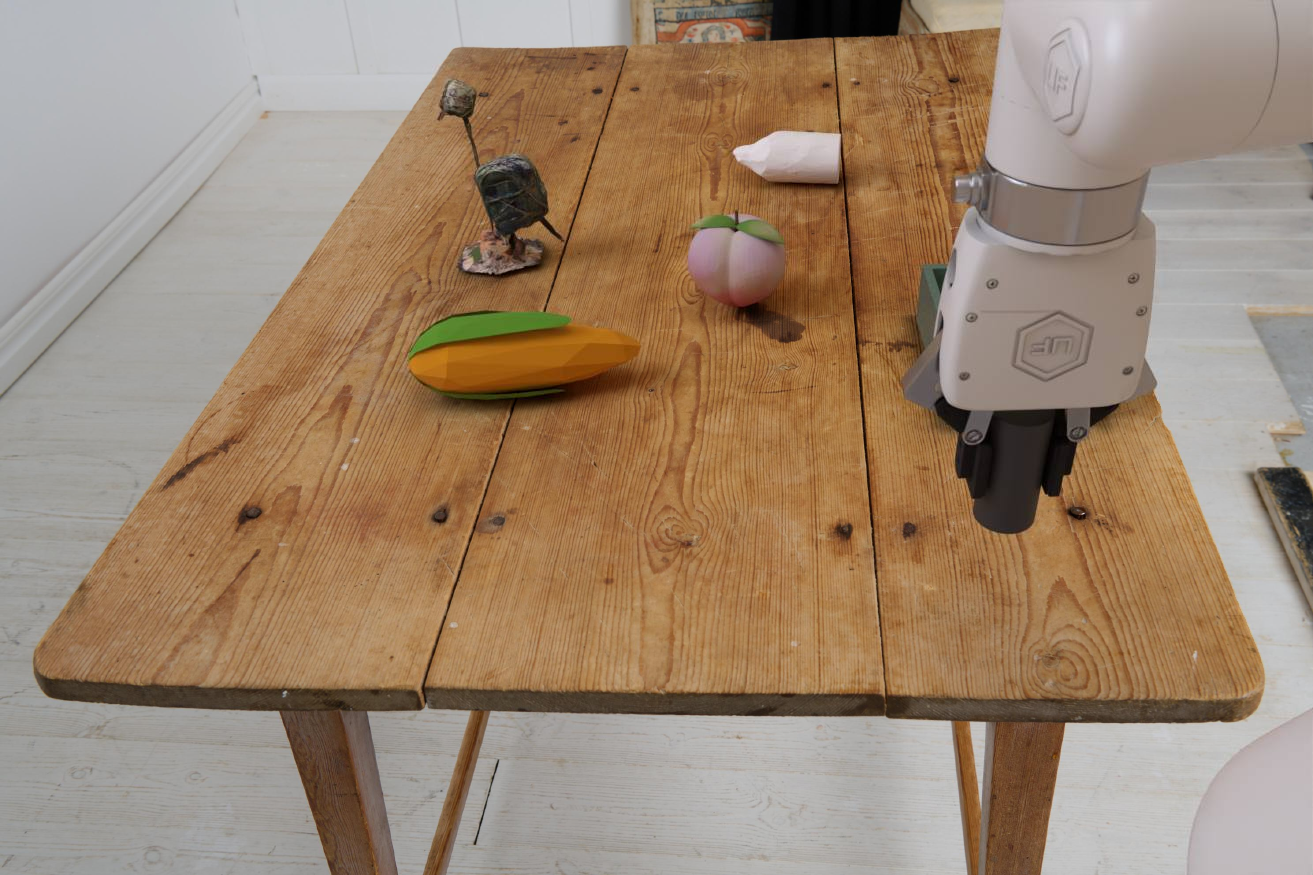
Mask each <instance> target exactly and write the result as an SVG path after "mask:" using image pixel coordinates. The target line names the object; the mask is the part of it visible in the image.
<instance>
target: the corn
mask: <svg viewBox="0 0 1313 875" xmlns="http://www.w3.org/2000/svg"><path fill="white" fill-rule="evenodd" d="M641 348H642V345H641V344H640V342H639V340H638V339H636V338H635V337H632V336H630V335H628V334H627V333H625V332H622V331H618V330H615V329H614V330H613V329H608V328H602V327H596V326H590V325H583V324H577V323H572V317H570V316H567V315H563V314H558V313H552V312H545V311H534V310H533V311H506V310H505V311H503V310H488V309H484V310H478V311H469V312H461V313H454V314H451V315H449V316H446V317H444V318H442V319H439V320H437V321H435V322H434V323H432V324H431V325H430V326H429V327H427V328H426V329H425V330H423V331H422V332H420V333H419V335H418V337H417V339H416V340H415V342H414V343H413V345H412V346H411V348H410V350H409V351H408V355H407V362H408V363H407V365H408V369H409V373H410V374H411V376H412V377H413V378H414V379H415V380H416V381H417V382H418V383H419V384H420V385H422V386H423V387H424V388H427V389H428V390H431V391H432V392H434V393H436V394H440V395H443V396H447V397H451V398H455V399H468V400H469V399H470V400H486V401H487V400H499V399H500V400H501V399H515V398H528V397H534V396H540V395H547V394H555V393H561V392H562V393H563V392H566V391H567V390H565V389H547V390H538V389H546V388H551V387H555V386H559V385H564V384H569V383H574V382H579V381H583V380H587V379H591V378H592V377H595V376H597V375H599V374H602V373H604V372H606V371H609V370H611V369H613V368H616V367H618V366H621V365H622V364H625V363H628V362H629V361H632V359H634V358H636V357H637V356H638V355H639V353H640V352H641V351H640V350H641ZM528 390H537V391H528ZM518 391H519V392H518ZM520 391H526V392H520ZM527 391H528V392H527ZM509 392H516V393H509ZM499 393H500V394H499Z"/></svg>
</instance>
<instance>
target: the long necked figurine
mask: <svg viewBox="0 0 1313 875" xmlns="http://www.w3.org/2000/svg"><path fill="white" fill-rule="evenodd" d="M477 94H478V92H477V89H476V88H475V87H473V86H471V85H469V84H467V83H466V82H464V81H462V80H459V79H457V78H454V77H451V78H447V79H446V81H445V83H444V86H443V88H442V91H441V94H440V96H439V101H438V108H440V111H439V115H438V116H437V118H436V120H437V121H439V122H440V121H442V120H443V119H444V118H445V116H452V117H453V116H456V117H457V118H461V119H462V121H463V124H464V128H465V131H466V133H467V137H468V139H469V140H470V144H471V150H472V153H473V157H474V162H475V165H476V169H475V170H474V176H473V180H474V182H475V185H476V187H477V190H478V192H479V195H480V197H481V201H482V203H483V207H484V209H485V212H486V215H487V216H488V219H489V221H490V222H489V223H490V227H491V228H488V229H487V228H486V229H482V230H481V234H480V237H481V240H478V241H475V242H473V243H471V244H465V245H464V246H465V248H463V249H462V251H463V252H462V253H461V254H462V255H460V256H459V257H460V258H459V260H458V262H457V263H456V264H457V265H455V268H456V269H458V270H460V271H464V272H471V273H481V274H483V273H485V274H487V273H488V274H489V275H492V273H494V275H495V276H499V275H501V274H503V273H507V272H510V271H515V270H519V269H523V268H525V267H526V266H527V267H530V266H536V265H539V264H540V261H541V260H542V259H543V258H542V257H541V256H543V249H545V247H544V245H543V243H542V241H541V240H540V239H539V238H536V239H534V238H533V239H532V238H523V237H520V236H517V235H516V233H517V232H518V231H519V230H521V229H528V228H530V227H531V226H533V225H534V224H535V223H538V222H540V223H541V224H542V226H543V227H544V228H545V229H546V230H547V231H548V232H549V233H550V234H551V235H552V236H554V237H555V238H556V239H557V240H559V241H560V242H562V243H565V242H566V238H565V235H563V234H561V232H558V231H557V230H556V229H555V227H554V226H553V225H552V224H551V223H550V221H548V219H547V218H546V216H547V215H548V214H549V212H550V210H549V209H550V208H549V201H548V191H547V189H546V186H545V184H544V181H543V180H542V178H541V175H540V174H539V172H538V169H537V167H536V165H535V163H534V162H533V160H531V158H530V157H528V156H527V155H524V154H523V153H520V152H514V153H510V154H506V155H503V156H497V157H494V158H492V159H490V160H488V161H487V162H485V163H483V164H480V159H479V158H480V157H479V152H478V150H477V145H476V142H475V140H474V137H473V130H472V125H471V122H470V118H471V117H472V116H473V114H474V111H475V106H476V100H477V96H478V95H477Z"/></svg>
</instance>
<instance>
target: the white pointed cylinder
mask: <svg viewBox="0 0 1313 875" xmlns="http://www.w3.org/2000/svg"><path fill="white" fill-rule="evenodd" d="M841 148H842V134H841V133H833V132H819V131H818V132H817V131H815V132H814V131H794V130H777V131H774V132H772V133H770V134H769V135H766V136H765V137H762V138H761V139H759V140H757V141H756V142H754V143H751V144H744V145H741V146H737V147H735V148H734V149H733V151H732V154H733V156H734V157H735V159H736V162H737V163H738V164H740V165H743V166H745V167H747V168H748V169H749V170H751V171H753V172H754V173H755V174H757V175H758V176H760V177H761V178H762V179H765V181H767V182H772V183H792V184H793V183H798V184H799V183H800V184H828V185H829V184H830V185H831V184H832V185H837V184H839V180H840V179H839V178H840V168H841Z"/></svg>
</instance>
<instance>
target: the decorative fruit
mask: <svg viewBox="0 0 1313 875" xmlns="http://www.w3.org/2000/svg"><path fill="white" fill-rule="evenodd" d="M688 229H689V230H694V229H699V230H698V231H697V232H696V233H695V235H694V236H693V238H692V240H691V242H690V245H689V248H688V253H687V261H686V262H687V264H686V265H687V271H688V273H689V276H690V278H691V279H692V281H693V282H694V284H695V285H696V286H697V287H698V289H700V290H701V291H702V292H703V293H704V294H705V295H707V296H709V297H710V298H711V299H712V300H714V301H716V302H718V303H721V304H723V305H727V306H732V307H739V308H744V307H747V306H751V305H753V304H756V303H759V302H761V301H764V300H765V299H767V298H768V297H769V296H771V295H772V294H773V293H774V292H775V291H777V289H778V288H779V286H780V285H781V283H782V282H783V279H784V277H785V274H786V266H787V264H786V261H787V260H786V258H787V256H786V247H785V245H786V242H785V240H784V238H783V236H782V234H781V233H780V231H778V230H777V228H776V227H775V226H773V224H771V223H769V221H767V220H766V219H763V218H761V217H758V216H756V215H752V214H747V213H739V211H738V209H734V213H729V214H726V215H725V214H712V215H711V214H710V215H706V216H705V217H702V218H701V219H699V220H697V221H696V222H694V223H692V225H690V227H689V228H688Z"/></svg>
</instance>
